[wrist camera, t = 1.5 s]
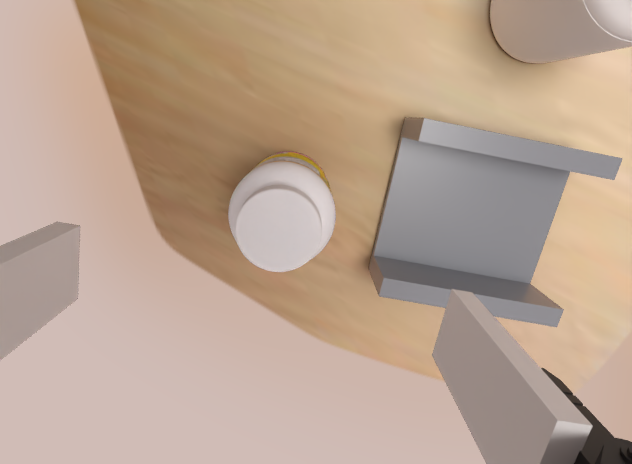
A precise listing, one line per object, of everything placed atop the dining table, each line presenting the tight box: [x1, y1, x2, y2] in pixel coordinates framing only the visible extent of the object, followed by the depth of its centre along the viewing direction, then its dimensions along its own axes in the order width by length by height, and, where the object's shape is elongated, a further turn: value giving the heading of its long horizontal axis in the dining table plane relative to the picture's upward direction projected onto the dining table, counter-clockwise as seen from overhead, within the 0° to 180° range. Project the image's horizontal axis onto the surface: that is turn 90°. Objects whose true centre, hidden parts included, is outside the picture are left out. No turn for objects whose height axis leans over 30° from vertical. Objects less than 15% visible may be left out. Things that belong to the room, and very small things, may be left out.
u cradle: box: [369, 118, 622, 327], centre depth 32 cm, size 13×14×6 cm
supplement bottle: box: [228, 152, 336, 272], centre depth 28 cm, size 7×7×13 cm
